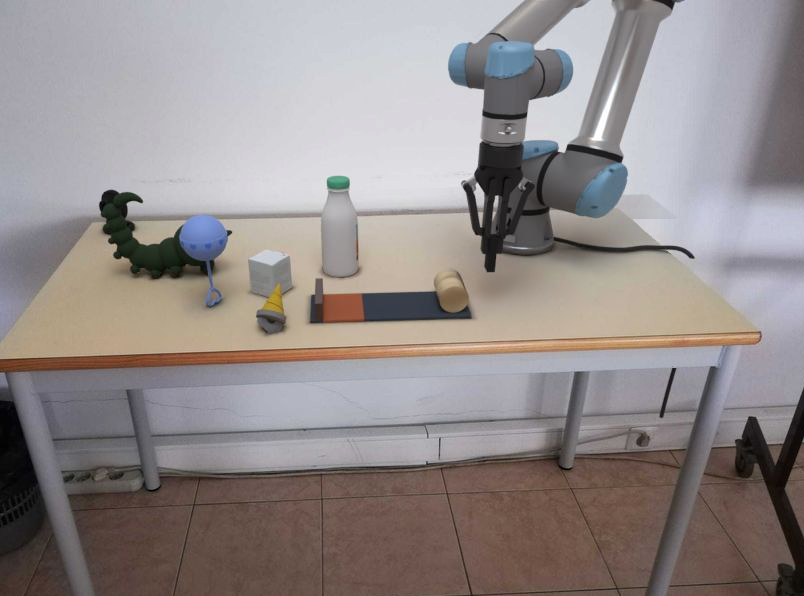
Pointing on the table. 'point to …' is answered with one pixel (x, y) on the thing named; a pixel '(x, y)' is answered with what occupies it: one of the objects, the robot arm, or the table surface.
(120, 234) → the toy figurine
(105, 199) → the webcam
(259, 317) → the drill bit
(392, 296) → the board
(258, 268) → the product box
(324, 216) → the milk bottle
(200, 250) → the baby rattle
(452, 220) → the table surface
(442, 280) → the roller
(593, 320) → the table surface
